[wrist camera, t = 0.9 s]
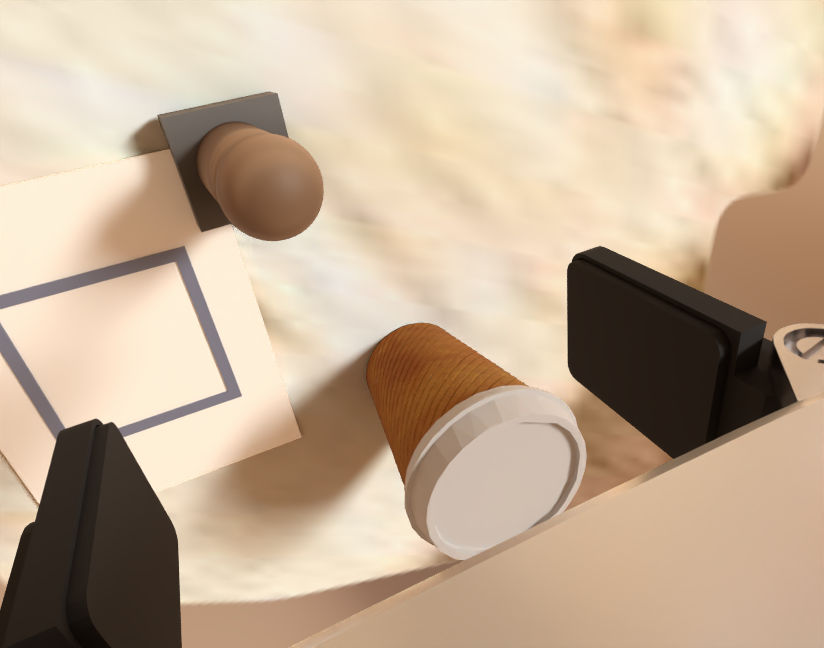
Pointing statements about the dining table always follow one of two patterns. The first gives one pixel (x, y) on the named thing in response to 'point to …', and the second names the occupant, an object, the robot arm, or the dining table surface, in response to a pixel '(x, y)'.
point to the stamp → (244, 167)
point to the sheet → (130, 326)
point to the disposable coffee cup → (471, 441)
